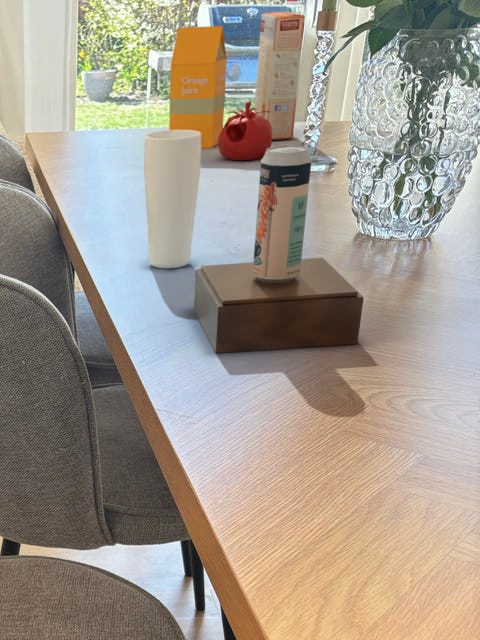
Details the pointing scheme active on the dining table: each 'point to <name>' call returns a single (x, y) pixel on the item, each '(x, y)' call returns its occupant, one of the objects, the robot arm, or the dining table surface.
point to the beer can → (281, 213)
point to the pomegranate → (245, 135)
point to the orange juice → (198, 82)
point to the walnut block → (276, 308)
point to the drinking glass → (171, 194)
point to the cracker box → (279, 70)
